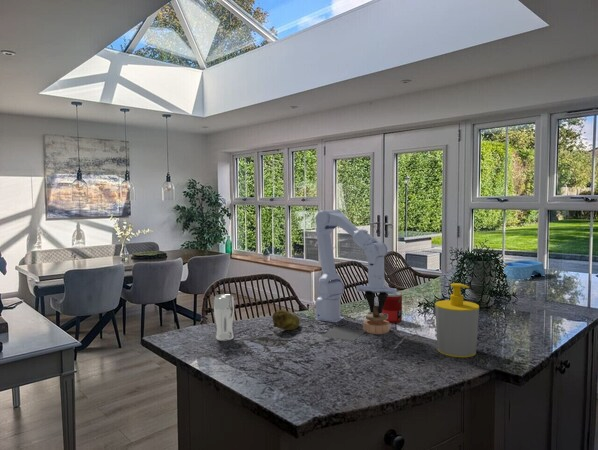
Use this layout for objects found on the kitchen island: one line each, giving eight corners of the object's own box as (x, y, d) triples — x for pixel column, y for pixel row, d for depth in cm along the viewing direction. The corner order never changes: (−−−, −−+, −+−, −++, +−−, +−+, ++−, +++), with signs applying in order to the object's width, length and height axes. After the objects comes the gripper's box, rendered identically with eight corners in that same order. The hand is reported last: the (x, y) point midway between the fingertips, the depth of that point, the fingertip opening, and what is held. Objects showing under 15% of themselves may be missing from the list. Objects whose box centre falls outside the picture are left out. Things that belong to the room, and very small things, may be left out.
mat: (321, 337, 151) (321, 335, 151) (335, 328, 161) (335, 326, 161) (353, 341, 145) (353, 340, 145) (365, 332, 156) (365, 331, 156)
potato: (307, 329, 160) (307, 308, 160) (279, 336, 153) (279, 313, 152) (294, 324, 167) (294, 304, 167) (266, 330, 159) (266, 309, 159)
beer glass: (238, 336, 153) (237, 294, 152) (228, 342, 147) (227, 298, 146) (220, 334, 155) (219, 293, 155) (210, 340, 149) (209, 297, 148)
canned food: (402, 323, 166) (402, 295, 165) (381, 322, 168) (381, 294, 167) (401, 318, 174) (401, 291, 173) (381, 317, 175) (381, 290, 175)
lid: (362, 319, 155) (362, 307, 155) (370, 315, 162) (370, 303, 162) (382, 321, 151) (382, 309, 151) (389, 317, 158) (389, 305, 158)
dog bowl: (521, 282, 248) (521, 267, 247) (491, 277, 263) (491, 263, 263) (551, 275, 266) (552, 262, 266) (521, 272, 282) (522, 259, 281)
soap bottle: (474, 361, 126) (475, 289, 125) (429, 353, 133) (430, 285, 132) (482, 348, 137) (482, 282, 136) (440, 341, 144) (440, 278, 143)
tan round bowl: (360, 332, 155) (360, 324, 155) (368, 326, 163) (368, 317, 163) (385, 336, 151) (384, 327, 151) (392, 329, 159) (392, 320, 159)
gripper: (353, 275, 156) (353, 312, 157) (392, 278, 149) (392, 317, 150) (360, 272, 162) (360, 308, 163) (398, 275, 155) (398, 312, 156)
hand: (376, 312), depth 157 cm, fingers closed on lid, 2 cm apart
